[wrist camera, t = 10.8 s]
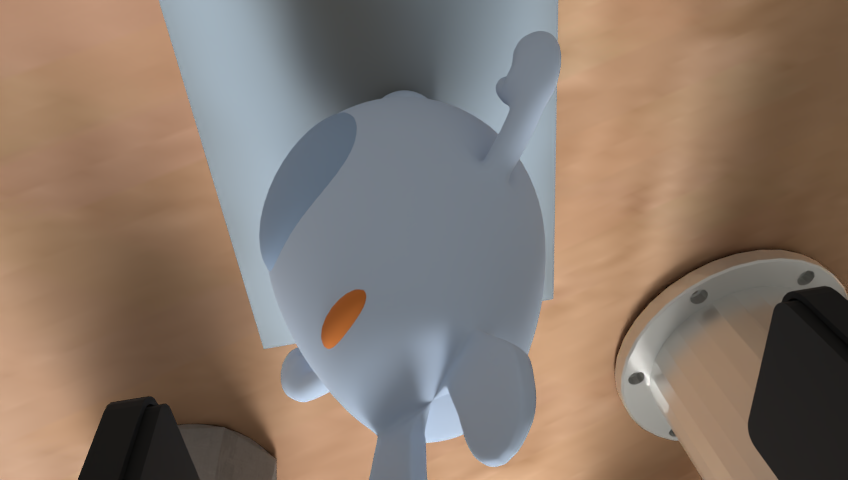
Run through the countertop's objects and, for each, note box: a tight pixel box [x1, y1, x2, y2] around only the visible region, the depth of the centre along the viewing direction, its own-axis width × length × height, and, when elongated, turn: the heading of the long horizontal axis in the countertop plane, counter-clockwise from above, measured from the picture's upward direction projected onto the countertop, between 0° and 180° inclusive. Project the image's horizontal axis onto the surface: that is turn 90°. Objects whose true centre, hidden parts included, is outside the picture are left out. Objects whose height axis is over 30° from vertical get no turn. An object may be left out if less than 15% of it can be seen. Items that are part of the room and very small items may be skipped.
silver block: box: [159, 0, 558, 349], centre depth 22 cm, size 10×14×7 cm
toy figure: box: [259, 31, 561, 480], centre depth 14 cm, size 11×6×12 cm, turn 145°
